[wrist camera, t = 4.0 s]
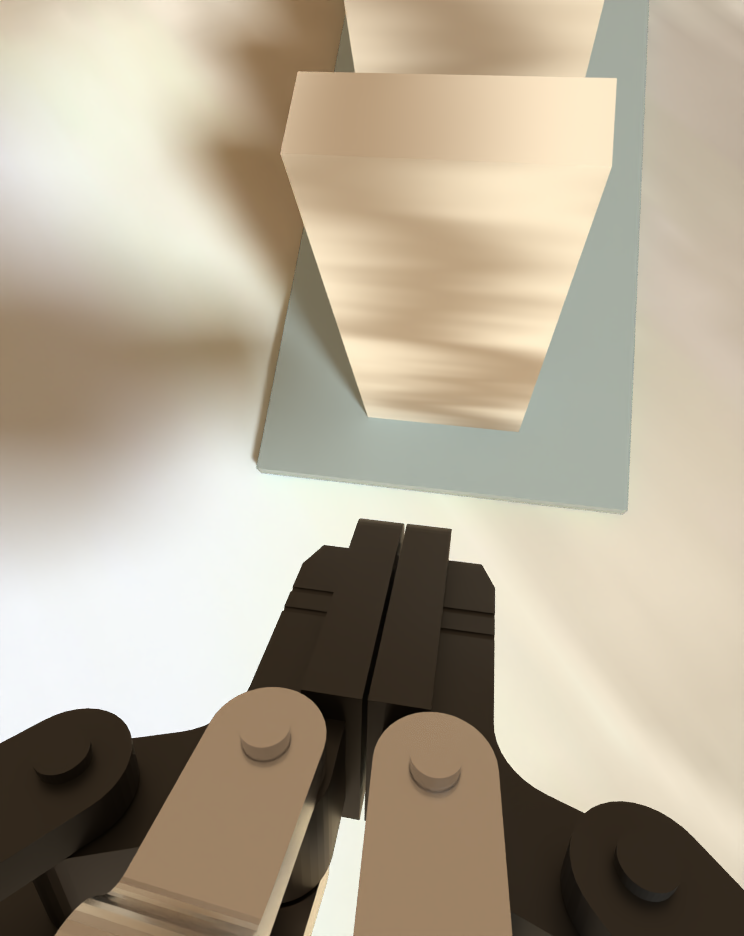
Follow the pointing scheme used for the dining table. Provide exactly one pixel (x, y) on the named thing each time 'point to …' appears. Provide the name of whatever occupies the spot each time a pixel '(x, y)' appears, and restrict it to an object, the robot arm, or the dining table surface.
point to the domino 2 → (448, 227)
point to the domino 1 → (473, 36)
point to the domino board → (561, 376)
